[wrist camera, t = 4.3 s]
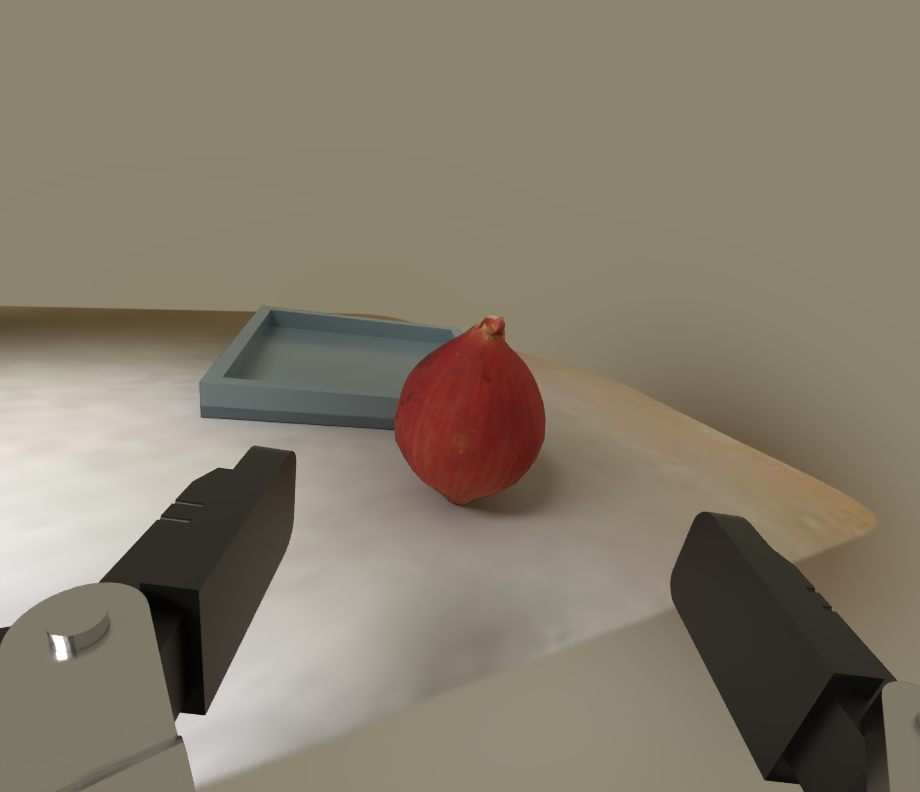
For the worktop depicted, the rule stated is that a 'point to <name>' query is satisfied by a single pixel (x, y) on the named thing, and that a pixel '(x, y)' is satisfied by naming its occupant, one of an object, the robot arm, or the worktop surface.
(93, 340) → the worktop surface
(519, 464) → the onion
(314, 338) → the dish
